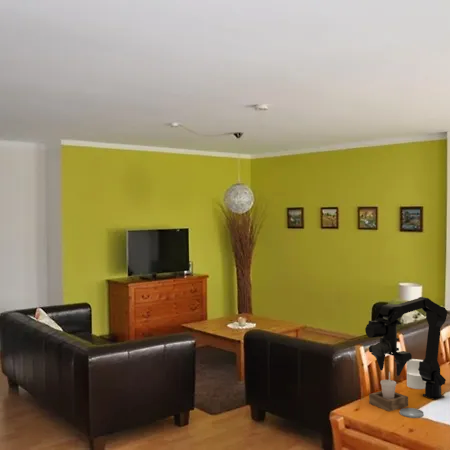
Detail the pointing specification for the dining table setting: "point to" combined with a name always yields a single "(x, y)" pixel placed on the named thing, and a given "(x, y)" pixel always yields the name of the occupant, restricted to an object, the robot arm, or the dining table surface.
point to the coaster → (411, 412)
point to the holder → (388, 401)
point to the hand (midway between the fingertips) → (389, 372)
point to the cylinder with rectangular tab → (414, 375)
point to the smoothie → (388, 388)
